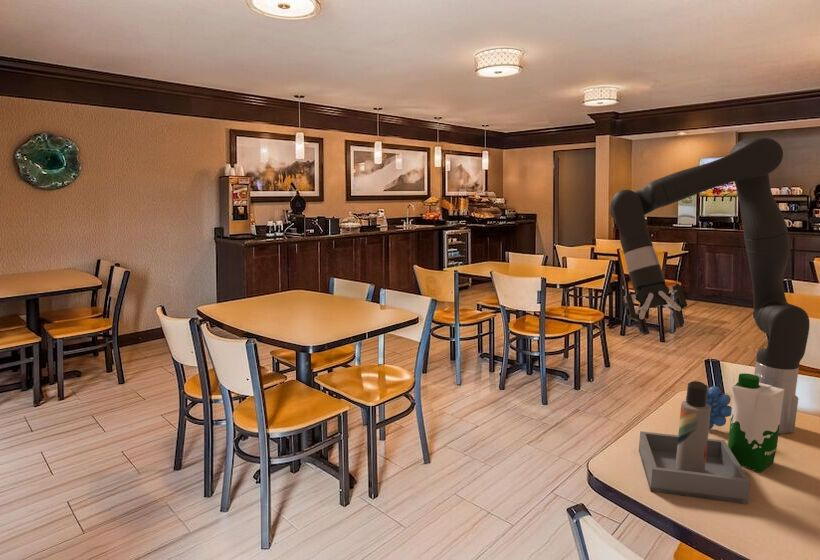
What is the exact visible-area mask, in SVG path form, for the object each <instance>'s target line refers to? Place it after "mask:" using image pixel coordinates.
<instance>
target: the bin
mask: <svg viewBox="0 0 820 560" xmlns="http://www.w3.org/2000/svg"><path fill="white" fill-rule="evenodd" d="M677 444H678V434H669V433H661V432H660V433H659V432H651V431H650V432H649V431H642V430H641V431H639V443H638V453H639V457H640V459H641V463H642V466H643V471H644V473H645V477H646V480H647V484H648V487H649V492H654V493H655V492H656V493H661V494H667V495H677V496H683V497H692V498H697V499H698V498H700V499H706V500H713V501H720V502H728V503H736V504H743V505H748V503H749V496H750V487H751V480H750V478H749V477H748V475H747V474H746V472H745V470H744V469H743V466H742V465H740V464H739V463H738V461H737V459H736V458H735V456H734V455H733V453H732V452H731V450H730V448H729V447H728V443H727V442H726V441H725V439H715V438H708V442H707V452H706V462H705V471H704V473H699V472H691V471H683V470H678V469H677V468H676V455H677Z"/></svg>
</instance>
